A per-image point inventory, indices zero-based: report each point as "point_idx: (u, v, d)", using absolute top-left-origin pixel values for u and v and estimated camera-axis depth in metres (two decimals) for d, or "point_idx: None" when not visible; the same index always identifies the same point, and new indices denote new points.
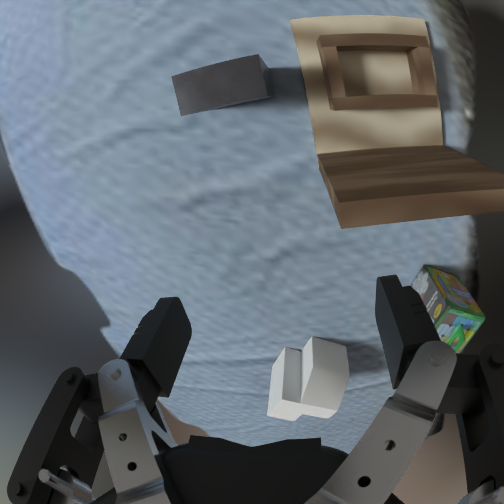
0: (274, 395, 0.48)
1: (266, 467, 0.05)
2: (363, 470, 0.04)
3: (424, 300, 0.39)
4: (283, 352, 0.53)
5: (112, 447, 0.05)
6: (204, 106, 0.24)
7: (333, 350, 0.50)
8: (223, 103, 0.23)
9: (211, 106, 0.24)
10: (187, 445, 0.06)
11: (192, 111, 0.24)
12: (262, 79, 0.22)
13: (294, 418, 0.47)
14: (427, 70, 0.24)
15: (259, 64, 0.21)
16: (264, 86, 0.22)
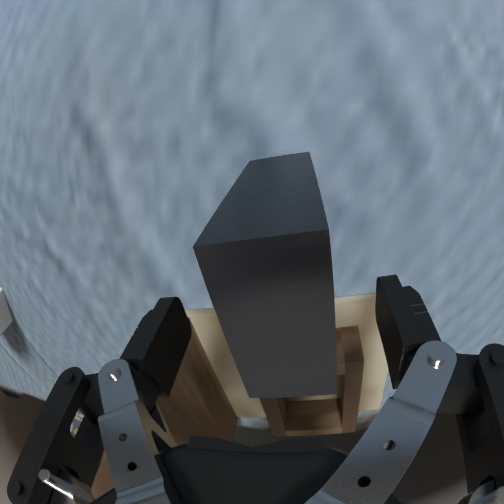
0: None
1: (266, 467, 0.05)
2: (363, 470, 0.04)
3: None
4: None
5: (112, 447, 0.05)
6: (221, 306, 0.10)
7: (1, 317, 0.32)
8: (230, 342, 0.11)
9: (222, 321, 0.10)
10: (187, 445, 0.06)
11: (207, 277, 0.09)
12: (282, 396, 0.12)
13: None
14: (314, 432, 0.27)
15: (314, 394, 0.12)
16: (268, 396, 0.12)
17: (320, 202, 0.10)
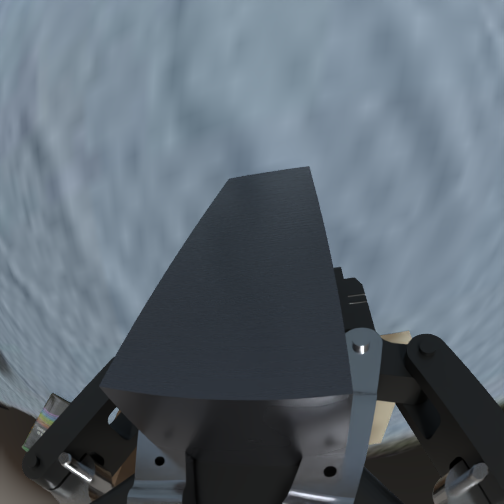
0: None
1: (266, 467, 0.05)
2: (325, 461, 0.04)
3: None
4: None
5: None
6: None
7: None
8: None
9: None
10: None
11: (135, 421, 0.05)
12: None
13: None
14: None
15: None
16: None
17: (334, 293, 0.05)
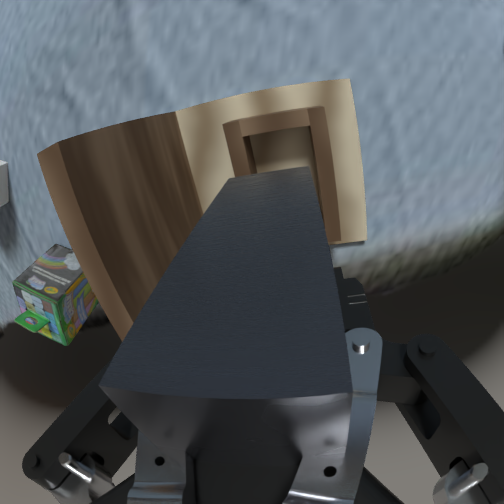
0: None
1: (266, 467, 0.05)
2: (324, 461, 0.04)
3: (60, 270, 0.35)
4: None
5: None
6: None
7: None
8: None
9: None
10: None
11: (134, 420, 0.05)
12: None
13: None
14: None
15: None
16: None
17: (334, 291, 0.05)
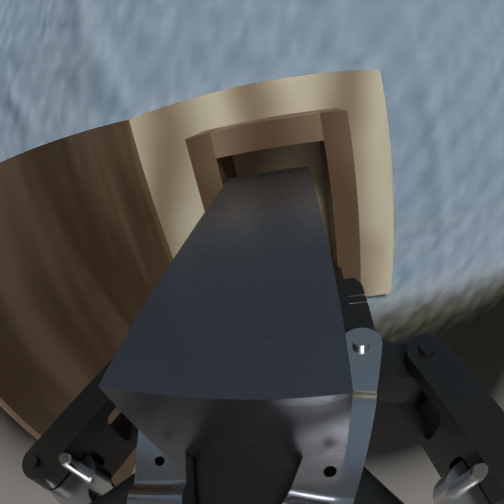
0: None
1: (266, 467, 0.05)
2: (324, 462, 0.04)
3: None
4: None
5: None
6: (166, 447, 0.05)
7: None
8: None
9: None
10: None
11: (134, 420, 0.05)
12: None
13: None
14: None
15: None
16: None
17: (334, 292, 0.05)
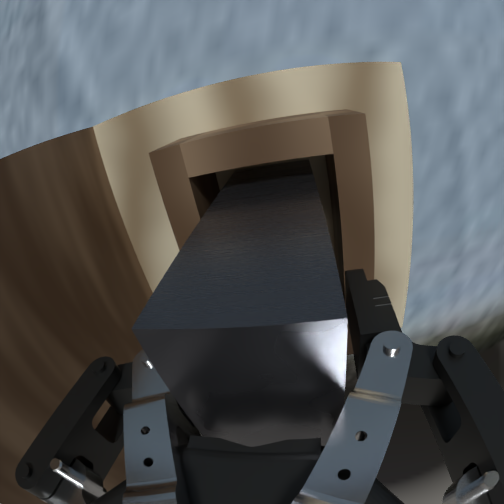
0: None
1: (266, 467, 0.05)
2: (340, 464, 0.04)
3: None
4: None
5: (132, 439, 0.05)
6: (184, 397, 0.06)
7: None
8: (201, 428, 0.07)
9: (187, 410, 0.07)
10: (187, 445, 0.06)
11: (158, 366, 0.06)
12: None
13: None
14: None
15: None
16: None
17: (330, 251, 0.06)
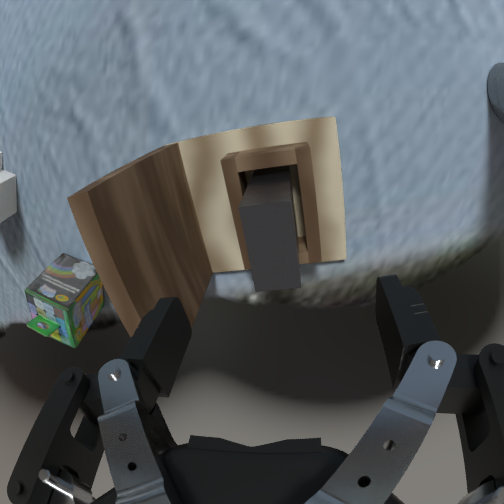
0: None
1: (266, 467, 0.05)
2: (363, 470, 0.04)
3: (69, 279, 0.39)
4: None
5: (112, 447, 0.05)
6: (247, 234, 0.24)
7: (8, 201, 0.37)
8: (249, 253, 0.24)
9: (246, 241, 0.24)
10: (187, 445, 0.06)
11: (242, 220, 0.23)
12: (273, 289, 0.26)
13: None
14: None
15: (289, 287, 0.26)
16: (265, 289, 0.26)
17: (289, 192, 0.24)
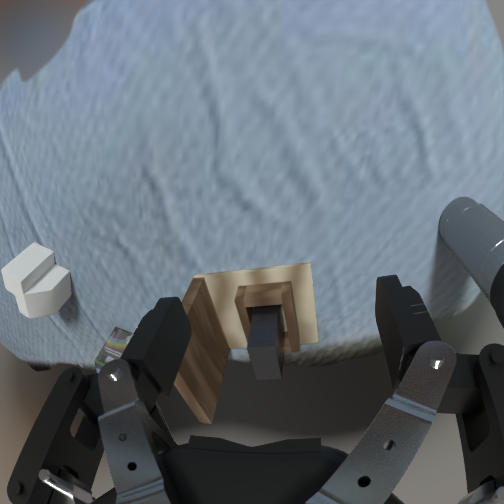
0: (17, 266, 0.46)
1: (266, 467, 0.05)
2: (363, 470, 0.04)
3: None
4: (49, 252, 0.53)
5: (112, 447, 0.05)
6: (251, 357, 0.41)
7: (65, 290, 0.56)
8: (253, 365, 0.42)
9: (251, 360, 0.42)
10: (187, 445, 0.06)
11: (249, 352, 0.41)
12: (266, 379, 0.44)
13: (8, 289, 0.46)
14: None
15: (275, 378, 0.43)
16: (262, 379, 0.44)
17: (275, 335, 0.41)
